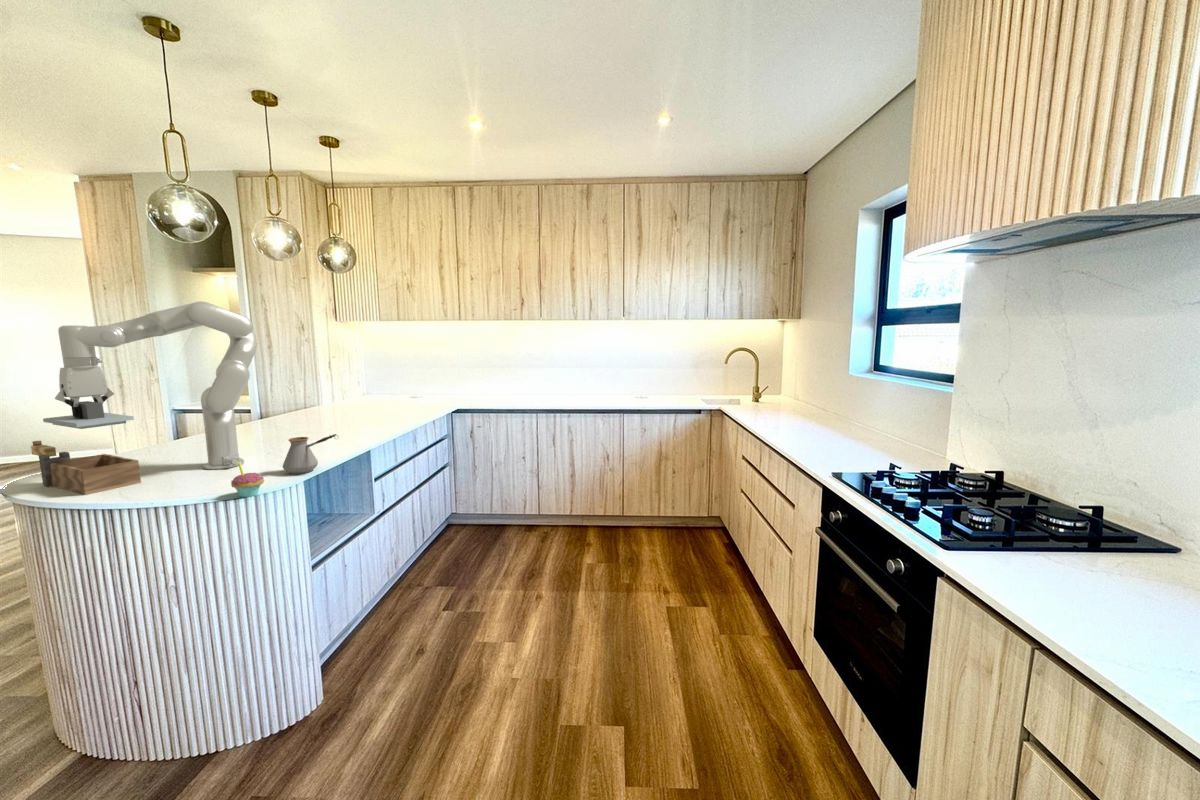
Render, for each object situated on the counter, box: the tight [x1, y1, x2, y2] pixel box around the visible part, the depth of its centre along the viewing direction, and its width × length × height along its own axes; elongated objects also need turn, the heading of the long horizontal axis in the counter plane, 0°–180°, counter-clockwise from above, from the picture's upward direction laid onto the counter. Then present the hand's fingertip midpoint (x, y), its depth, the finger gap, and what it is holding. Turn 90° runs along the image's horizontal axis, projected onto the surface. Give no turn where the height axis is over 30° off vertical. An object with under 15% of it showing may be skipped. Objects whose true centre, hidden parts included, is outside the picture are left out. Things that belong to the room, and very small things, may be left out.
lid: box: [42, 400, 135, 430], centre depth 158 cm, size 22×14×7 cm, turn 68°
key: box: [30, 440, 57, 458], centre depth 163 cm, size 10×2×4 cm, turn 68°
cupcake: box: [230, 461, 265, 498], centre depth 152 cm, size 9×8×12 cm
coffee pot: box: [282, 433, 339, 475], centre depth 177 cm, size 21×12×15 cm, turn 85°
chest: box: [38, 451, 142, 496], centre depth 161 cm, size 25×15×11 cm, turn 68°
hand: (88, 416), depth 158 cm, fingers closed on lid, 4 cm apart
